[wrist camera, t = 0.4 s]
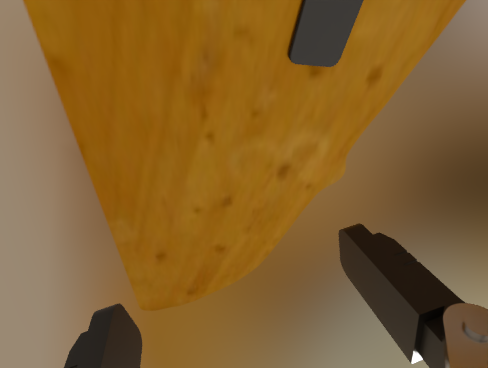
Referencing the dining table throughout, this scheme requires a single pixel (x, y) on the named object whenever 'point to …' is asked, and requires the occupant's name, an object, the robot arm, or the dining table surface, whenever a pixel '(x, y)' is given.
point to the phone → (323, 31)
